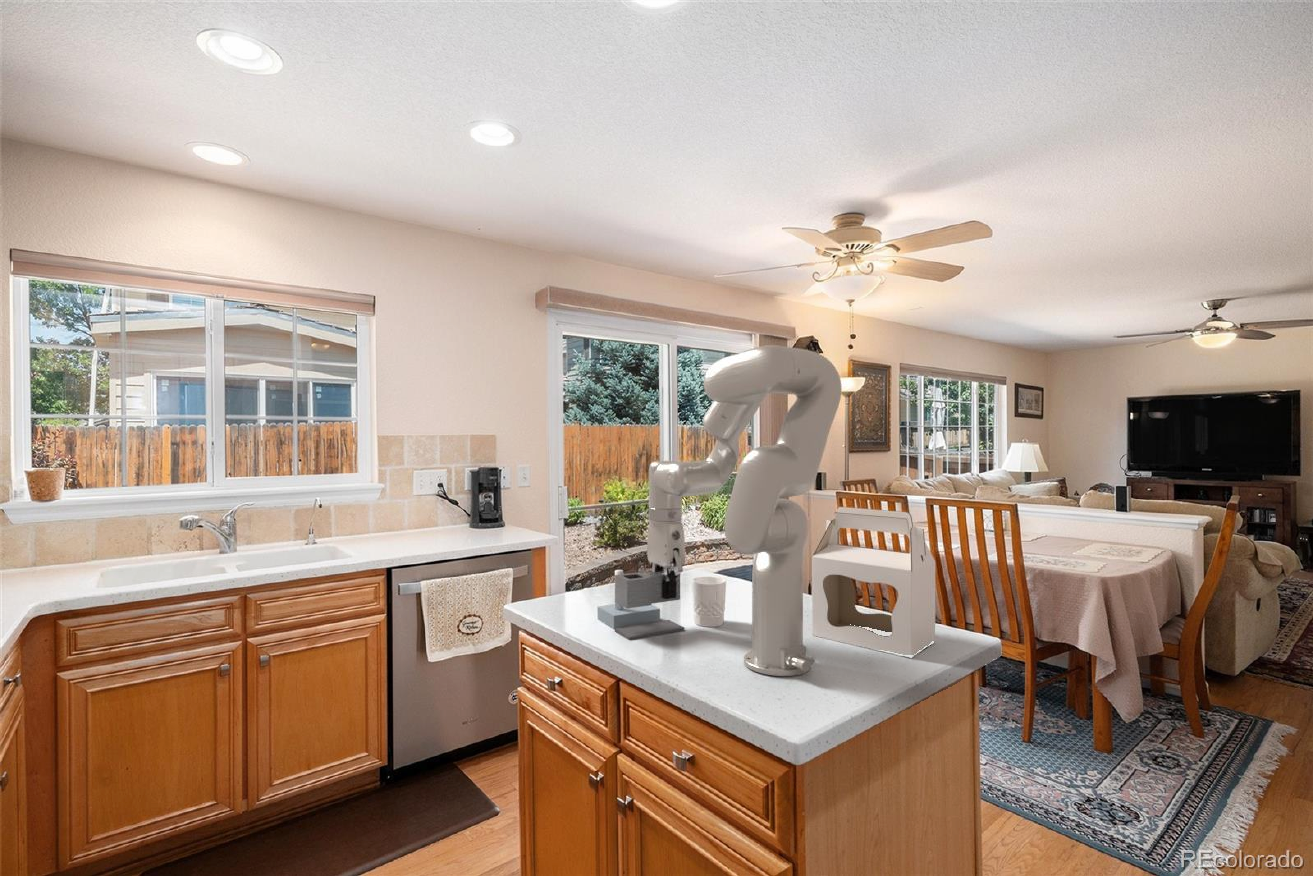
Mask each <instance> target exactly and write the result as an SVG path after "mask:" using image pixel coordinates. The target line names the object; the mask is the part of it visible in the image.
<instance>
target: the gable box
mask: <svg viewBox="0 0 1313 876" xmlns="http://www.w3.org/2000/svg"><path fill="white" fill-rule="evenodd" d="M834 517H835V518H834V519H826V520H825V521H826V523H825V524H826V525H825V531H824V533H823V536H822V537H821V539H820V541H819V543H818V545H817V547H816V549H815V551H814V553H813V555H812V556H811V559H812V561H811V577H812V578H811V579H812V580H811V581H812V583H811V594H812V595H811V602H812V604H811V634H812V636H813V637H818V638H821V639H826V640H831V641H834V642H839V643H842V642H843V643H842V644H846V643H847V644H846V645H850V644H852V645H851V646H855V645H856V647H859V646H864V647H867V648H872V649H876V650H884V651H890V652H894V653H898V654H903V655H914V654H916V653H917V652H918V651H919V650H922V649H923V648H924V647H925V646H928V645H929V644H930V643H931V642H932V641H935V642H936V560H935V558H934V557H933V554H932V552H931V551H930V548H929V547H928V545H927V543H926V541H925V540H926V539H925V529H924V528H918V527H916V526H914V524H913V518H912V515H911V513H910V512H909V511H899V510H898V511H897V510H885V509H876V508H875V509H873V508H859V507H851V506H850V507H848V506H839V507H838V508H837V510H836V511H834ZM841 528H842V529H851V530H852V529H853V530H862V531H870V532H882V533H889V534H890V533H891V534H900V535H902V536H904V535H905V536H907V538H908V541H909V552H904V551H896V550H888V549H880V548H872V547H871V548H870V547H865V546H864V547H863V546H857V545H847V544H841V541H840V540H841V536H840V535H841V534H840V529H841ZM853 580H856V581H858V582H859V581H860V582H863V583H869V584H870V583H872V584H873V583H874V584H876V583H877V584H885V585H889V586H891V587H893V588H894V589H895V590H896V592H897V600H896V603H895V605H894V607H893V609H892V613H891V614H886V613H864V612H860V611H858V609H857V607H856V600H857V591H856V587H855V585H854V582H853ZM850 624H851V625H850ZM854 625H855V626H854ZM859 626H861V627H859ZM862 627H869V628H872V629H877V630H881V631H885V632H892V634H891V635H890V636H882V635H878V634H876V633H874V632H873V631H870V630H867V629H865V628H862ZM867 648H866V649H867ZM872 649H871V650H872ZM876 650H875V651H876Z"/></svg>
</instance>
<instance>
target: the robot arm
mask: <svg viewBox="0 0 1313 876" xmlns="http://www.w3.org/2000/svg"><path fill="white" fill-rule="evenodd" d="M703 378H704V379H703V389H704V392H705V394H706V395H707V397H708V398H709V399H710V400H712V403H711V405H710V406H709V408H708V409H707V411H706V412H705V414H704V415H703V417H702V425H703V427H704V429H705V430H706V432H707V433H708V434H709V435H710V436H711V437H712V438H713V439H715V440H716V441H715V444H714V446H713V449H712V450H711V452H710V453H709V455H708V456H707V458H706V459H705V460H690V461H689V460H688V461H676V460H675V461H674V460H656V461H653V462H651V463H650V465H649V468H648V522H649V523H648V531H647V543H646V547H647V551H646V553H647V561H648V563H649V565H650V568H651V572H657V571H664V575H665V581H663V598H664V599H670V598H676V587H677V580H678V576H679V574H680V575H681V573H683V570H684V567H685V565H686V541H685V532H684V525H683V521H682V520H683V519H682V516H683V515H682V513H683V511H682V510H683V508H682V507H683V497H693V496H701V495H702V496H703V495H712V494H715V493H716V492H718V491H719V490H720V489H722V488H723V486H724V485H725V484H726V483H727V481H728V480H729V478H730V477H731V475H732V474H733V473H734V471H735V468H736V467H737V465H738V463H739V457H740V456H739V455H740V441H739V440H740V437H741V435H742V434H743V433H744V431H745V430H746V428H747V427H748V424H749V423H750V421H751V420H752V419H753V417H754V416H755V414H756V413H757V411H758V410H759V408H760V406H761V405H762V404H763V402H764V400H765V398H766V397H767V396H768V394H781V395H794V396H796V400H795V402H794V403H793V404H792V406H791V407H790V408H789V410H788V411H787V413H786V414H785V416H784V419H783V422H782V425H781V429H780V432H779V434H778V438H777V441H776V443H775V444H774V445H763V446H757V447H756V448H753V449H751V450H750V451H749V452H747V454H746V455H745V456H744V457H743V459H742V461H741V462H740V464H739V466H738V469H737V472H736V475H735V479H734V483H733V487H732V491H731V495H730V497H729V502H728V505H727V509H726V513H725V517H724V518H725V519H724V525H723V526H724V529H723V530H724V535H725V538H726V542H727V543H728V545H729V546H730V548H731V549H732V550H733V551H735V552H737V553H739V554H741V555H747V556H748V555H755V558H754V561H753V566H752V574H751V575H752V576H751V578H752V582H751V584H752V585H751V589H752V590H751V591H752V592H751V607H752V608H751V613H752V614H751V650H750V651H748V652H746V653H745V654H744V655H743V663H744V665H745V666H746V667H747V669H750V670H751V671H753V672H755V673H759V674H763V675H767V676H772V677H773V676H776V677H792V676H794V677H795V676H799V675H803V674H805V673H807V672H809V671H810V670H811V668H812V666H813V665H814V664H815V662H816V661H815V658H814V657H812V656H810V655H807V645H806V644H805V645H804V593H803V592H804V563H805V562H804V560H805V552H806V545H807V539H808V535H809V521H808V517H807V514H806V512H805V510H804V509H803V507H802V506H801V505H800V504H799V503H797V502H796V501H793V500H792V499H789V498H791V497H796V496H802V495H804V494H806V493H808V492H810V490H812V488H813V487H814V484H815V481H816V479H817V475H818V473H819V468H820V466H821V462H822V458H823V456H824V452H825V449H826V445H827V443H828V438H829V434H830V431H831V428H832V426H833V422H834V420H835V417H836V414H837V412H838V409H839V405H840V401H841V399H842V398H841V397H842V381H841V377H840V374H839V372H838V370H837V367H835V365H834V364H833V362H831V361H830V360H829V359H828V358H827V357H825V356H824V355H822V354H821V353H818V352H815V351H812V350H809V349H804V348H798V347H789V346H783V345H778V344H777V345H774V344H768V345H761V346H758V347H754V348H750V349H747V350H744V351H741V352H738V353H734V354H731V355H728V356H725V357H722V358H720V359H718V360H716V361H715V362H713V363H712V364H711V365H710V366H709V368H708V369H707V371H706V372H705V376H704V377H703ZM669 570H672V571H671V572H670V573H669Z"/></svg>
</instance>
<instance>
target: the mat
mask: <svg viewBox="0 0 1313 876" xmlns="http://www.w3.org/2000/svg"><path fill="white" fill-rule="evenodd" d="M685 630H686V629H685V627H684V626H683V625H681V624H678V623H677V622H674V621H672V620H671V619H664V620H660V621H658V622H652V623H646V624H639V625H633V626H627V627H621V628H615V629H614V632H615V633H617V634H619V635H620V636H621V637H624V638H625V639H627V640H629V641H630V640H631V641H632V640H638V639H642V638H647V637H648V638H649V637H653V636H654V637H655V636H660V635H666V634H671V633H677V632H682V631H683V632H684V631H685Z"/></svg>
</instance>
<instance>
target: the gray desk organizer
mask: <svg viewBox="0 0 1313 876" xmlns="http://www.w3.org/2000/svg"><path fill="white" fill-rule="evenodd" d="M672 570H673V569H669V573H670V572H671V571H672ZM663 581H665V575H664V571H657V572H652V571H649V572H631V573H623V574H621V575H615V574H614V603H615V602H616V603H618V604H619V605H621V606H623V607H625V608H627V609H628V608H635V607H642V606H649V605H654V604H659V603H666V602H672V601H673V602H674V601H680V600H681V573H680V574H679V576H678V580H677V587H676V598H670V599H664V598H663Z"/></svg>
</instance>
